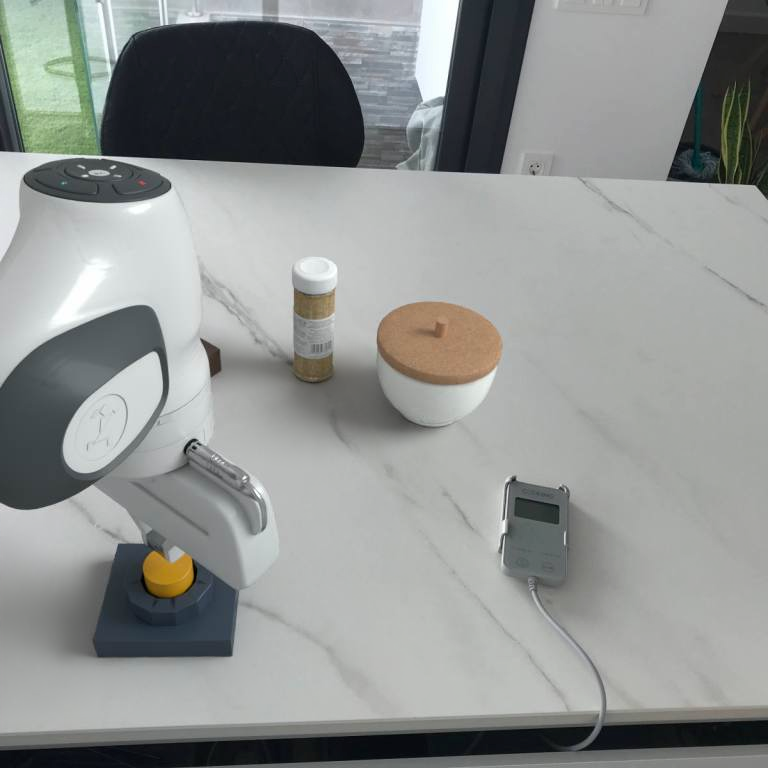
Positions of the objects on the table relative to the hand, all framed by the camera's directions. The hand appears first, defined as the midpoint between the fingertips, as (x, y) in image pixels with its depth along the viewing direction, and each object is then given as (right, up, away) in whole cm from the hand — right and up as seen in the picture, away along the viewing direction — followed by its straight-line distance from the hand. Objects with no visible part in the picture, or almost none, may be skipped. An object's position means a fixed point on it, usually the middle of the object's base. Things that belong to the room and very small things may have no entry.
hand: (166, 548), depth 57 cm
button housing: (-1, -6, +4) cm, 7 cm away
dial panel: (-8, +13, +26) cm, 30 cm away
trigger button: (0, -3, +2) cm, 3 cm away
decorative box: (+21, +10, +26) cm, 35 cm away
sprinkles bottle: (+8, +13, +29) cm, 33 cm away
